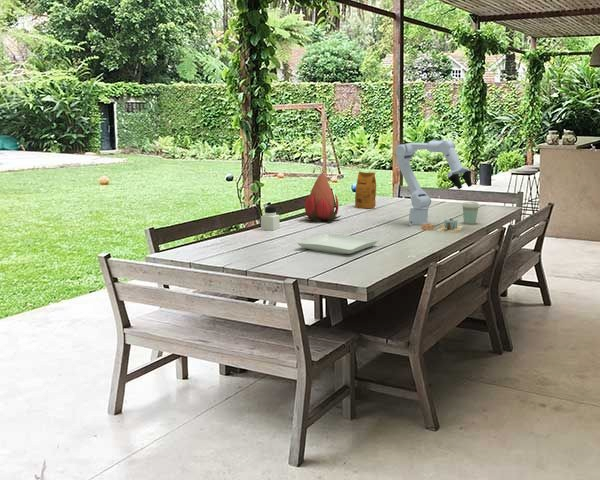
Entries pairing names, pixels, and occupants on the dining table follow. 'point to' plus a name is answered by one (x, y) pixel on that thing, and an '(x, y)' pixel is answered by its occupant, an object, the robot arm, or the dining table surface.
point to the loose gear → (427, 226)
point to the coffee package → (365, 191)
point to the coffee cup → (470, 212)
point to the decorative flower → (321, 201)
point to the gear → (451, 223)
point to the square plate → (337, 243)
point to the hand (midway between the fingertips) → (465, 187)
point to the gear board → (449, 228)
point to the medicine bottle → (270, 219)
